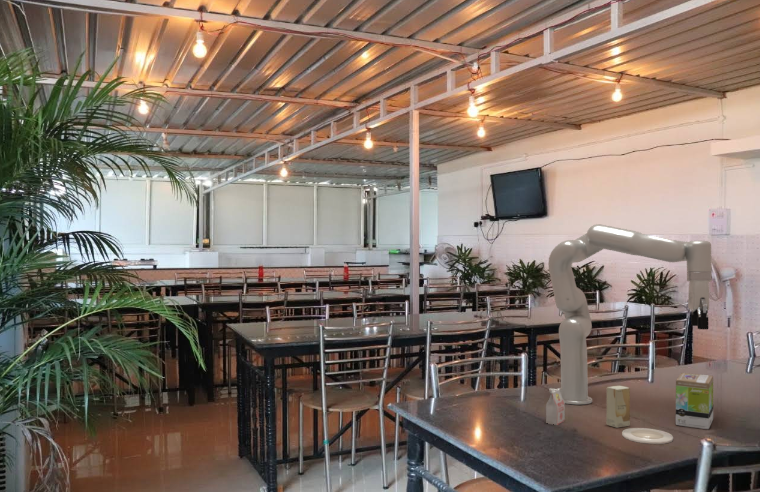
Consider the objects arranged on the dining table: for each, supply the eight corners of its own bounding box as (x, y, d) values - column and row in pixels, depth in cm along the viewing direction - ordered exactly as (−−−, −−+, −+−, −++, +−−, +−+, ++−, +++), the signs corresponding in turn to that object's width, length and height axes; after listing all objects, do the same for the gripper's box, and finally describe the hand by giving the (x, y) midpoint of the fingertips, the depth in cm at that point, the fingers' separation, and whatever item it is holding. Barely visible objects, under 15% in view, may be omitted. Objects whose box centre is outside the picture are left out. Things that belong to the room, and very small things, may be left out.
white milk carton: (546, 423, 203) (545, 392, 203) (554, 419, 209) (553, 388, 209) (557, 425, 201) (556, 394, 201) (564, 420, 206) (564, 390, 207)
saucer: (620, 440, 184) (619, 437, 184) (624, 428, 196) (624, 425, 196) (672, 446, 178) (672, 443, 178) (673, 433, 190) (673, 430, 190)
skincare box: (616, 428, 197) (616, 389, 197) (605, 425, 200) (605, 386, 201) (631, 425, 200) (630, 387, 200) (620, 422, 203) (619, 384, 204)
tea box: (710, 430, 194) (709, 382, 194) (674, 425, 199) (674, 379, 199) (714, 419, 207) (713, 374, 207) (680, 415, 212) (680, 371, 212)
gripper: (682, 276, 222) (682, 324, 221) (692, 278, 205) (692, 330, 205) (705, 276, 220) (706, 324, 219) (717, 278, 203) (718, 330, 203)
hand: (699, 327), depth 212 cm, fingers open, 9 cm apart
